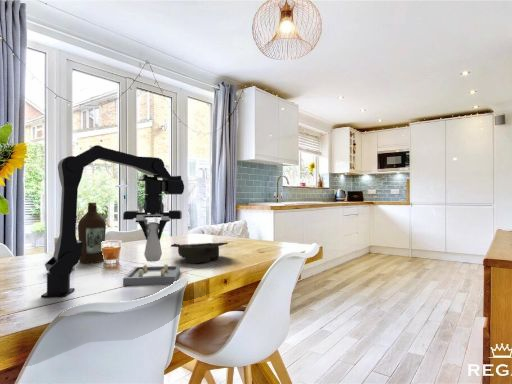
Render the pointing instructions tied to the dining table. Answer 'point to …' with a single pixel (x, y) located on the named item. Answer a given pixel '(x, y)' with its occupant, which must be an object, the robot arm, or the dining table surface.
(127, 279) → the pin tray
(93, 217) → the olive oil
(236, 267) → the dining table surface
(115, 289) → the dining table surface
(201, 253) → the stone bowl
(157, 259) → the salt shaker
